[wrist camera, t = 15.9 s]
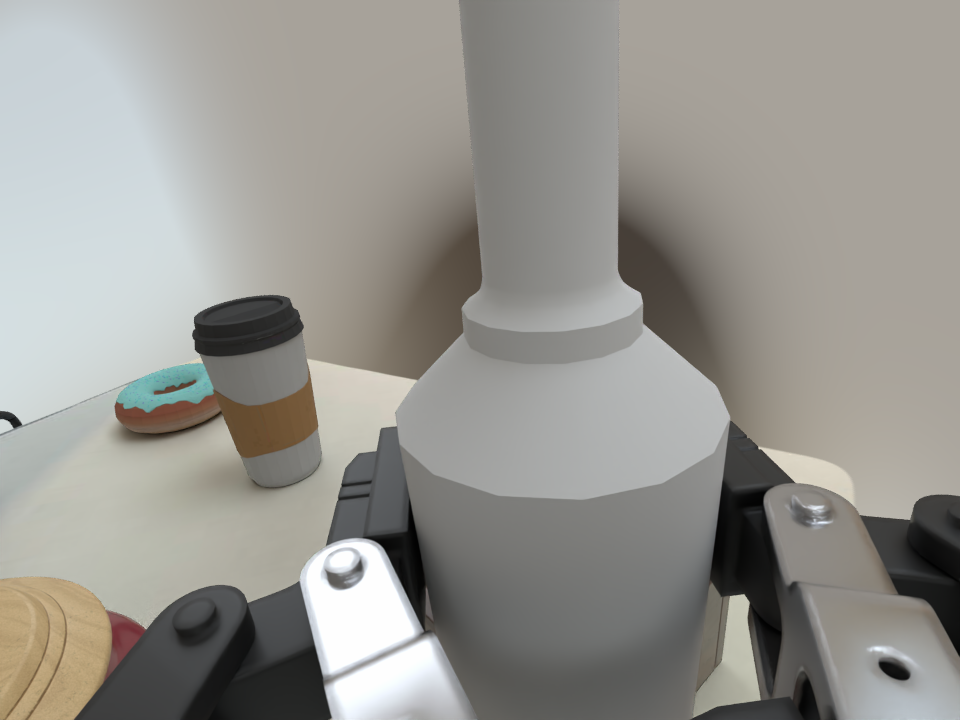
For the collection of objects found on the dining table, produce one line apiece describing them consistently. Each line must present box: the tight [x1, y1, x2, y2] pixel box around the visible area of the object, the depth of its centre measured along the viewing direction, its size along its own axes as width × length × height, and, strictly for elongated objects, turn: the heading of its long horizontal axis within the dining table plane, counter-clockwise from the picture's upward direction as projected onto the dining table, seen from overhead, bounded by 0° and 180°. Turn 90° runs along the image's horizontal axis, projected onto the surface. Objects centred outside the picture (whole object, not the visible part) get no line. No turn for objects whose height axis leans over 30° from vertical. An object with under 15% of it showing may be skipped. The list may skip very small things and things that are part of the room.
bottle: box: [395, 0, 730, 720], centre depth 10 cm, size 5×5×25 cm
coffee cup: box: [192, 295, 322, 487], centre depth 47 cm, size 8×8×15 cm
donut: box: [115, 363, 221, 434], centre depth 61 cm, size 12×12×4 cm
